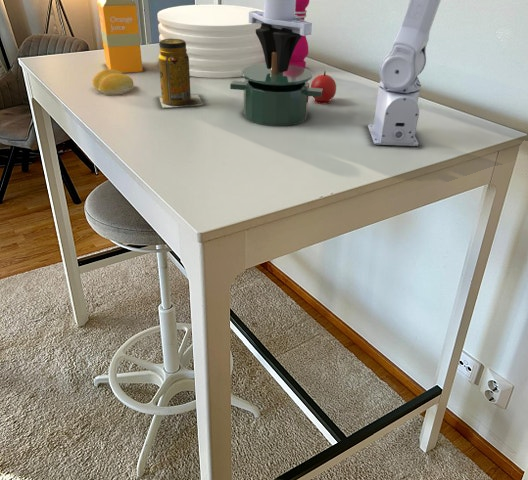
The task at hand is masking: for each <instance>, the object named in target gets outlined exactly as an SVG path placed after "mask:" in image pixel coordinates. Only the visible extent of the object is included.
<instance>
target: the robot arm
mask: <svg viewBox="0 0 528 480" xmlns="http://www.w3.org/2000/svg"><path fill="white" fill-rule="evenodd" d="M440 3H441V0H409V1H408V4H407V7H406V10H405V13H404V16H403V18H402V24H401V25H400V27H399V30H398V32H397V35H396V36H395V38H394V41H393V43H392V46H391V49H390V51H389V52H388V54H387V55H386V56H385V57H384V58H383V60H382V61H381V63H380V65H379V70H378V75H379V78H380V81H379V85H378V92H377V98H376V104H375V112H374V119H373V124H371V123H370V124H368V125H367V128H368V131H369V133H370V136H371V139H372V142H373V144H374V145H379V146H402V147H418V146H419V143H420V142H418V139H417V138H416V131H417V127H418V122H419V121H418V120H419V115H420V108H419V104H418V103H419V97H420V92H421V86H422V84H421V81H420V79H419V77H418V76H419V75H420V74H422V72H423V71H424V69H425V67H426V64H427V54H426V51H427V47H428V46H427V45H428V44H429V39H430V32H431V29H432V26H433V23H434V21H435V17H436V15H437V12H438V10H439V7H440ZM295 5H296V0H263V11H264V12H260V11H251V12H249V23H257V24H261V27H260V28H259V29H256V35H257V36H258V38H259V41H260V43H261V46H262V49H263V52H264V56H265V61H266V66H267V69H271V52H272V51H273V50H276V51H277V71H278V72H285V71H287V70H288V67H289V63H290V60H291V57H292V54H293V51H294V49H295V47H296V45H297V43H298V41H299V40H300V38H301V36H306V37H307V36H311V35H312V30H313V29H312V27H313V22H310V21H306V20H305V19H304V20H302V19H299V18H297V15H295Z"/></svg>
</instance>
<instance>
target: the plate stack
mask: <svg viewBox="0 0 528 480" xmlns="http://www.w3.org/2000/svg"><path fill="white" fill-rule="evenodd" d="M251 11H260V12H264V9H263V10H262V9H260V8H255V7H250V6H243V5H232V4H213V3H212V4H211V3H210V4H188V5H187V4H185V5H177V6H172V7H168V8H163V9H161V10H159V11H158V12H157V22H158V24H157V27H158V33H159V36H158V40H159V42H160V41H161V40H164V39H181V40H184V41H185V42H186V49H187V52H186V53H187V55H188V57H189V73H190V77H195V78H208V79H212V78H213V79H224V78H225V79H227V78H240V77H243V76H242V70H243V69H245V68H246V67H249V66H253V65H258V64H266V61H265V56H264V52H263V49H262V46H261V43H260V41H259V38H258V36H257V35H256V29H259V28H260V27H261V24H257V23H249V12H251Z"/></svg>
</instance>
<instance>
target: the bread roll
mask: <svg viewBox="0 0 528 480" xmlns="http://www.w3.org/2000/svg"><path fill="white" fill-rule="evenodd" d="M92 86H93V87H94V89H95V90H96V91H98V92H100V93H101V94H104V95H109V96H110V95H113V96H114V95H116V96H117V95H124V94H127V93H129V92H131V91H132V90H133V89H134V80H133V79H132V77H131V76H129V75H128V74H124V73H121V72H119V71H117V70H114V69H108V68H105V69H102V70H100V71H99V72H97V73H96V74H95V75H94V77H93V78H92Z"/></svg>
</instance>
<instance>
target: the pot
mask: <svg viewBox="0 0 528 480" xmlns="http://www.w3.org/2000/svg"><path fill="white" fill-rule="evenodd" d="M310 87H311V86H310V82H309V81H307V82H304V83H300V84H294V85H284V86H275V85H266V84H260V83H256V82H252V81H249V80H247V79H244V80H242V81H241V80H240V81H239V80H233V81H232V82H230V85H229V88H230V90H235V91H236V90H238V91H243V117H244V118H245V119H246V120H248V121H250V122H252V123H255V124H258V125H261V126H269V127H272V126H273V127H285V126H287V127H288V126H292V125H298V124H300V123H302V122H304V121H305V120H306V119H307V117H308V116H307V115H308V109H309V98H310V97H313V96H314V97H321V96H322V93H323V89H322V88H310Z"/></svg>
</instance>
